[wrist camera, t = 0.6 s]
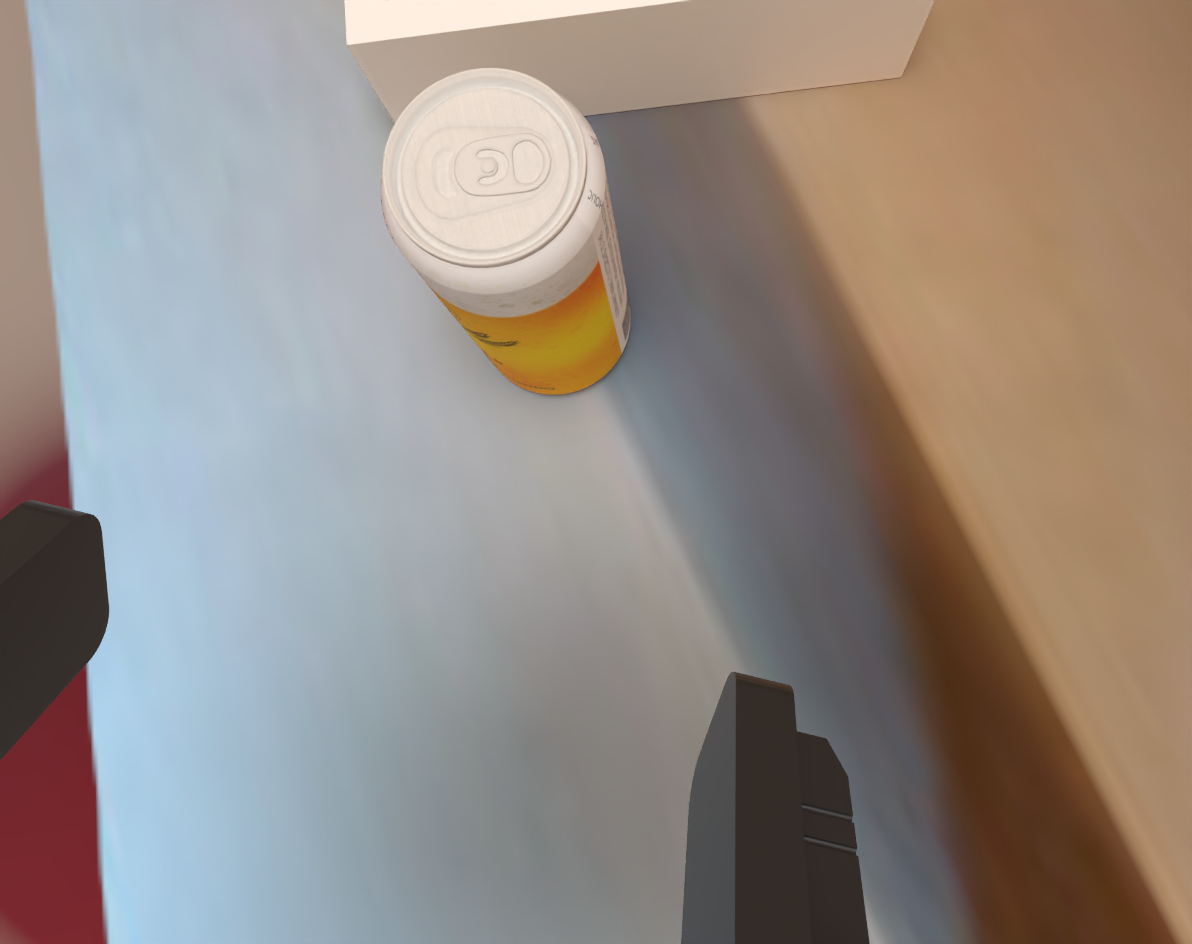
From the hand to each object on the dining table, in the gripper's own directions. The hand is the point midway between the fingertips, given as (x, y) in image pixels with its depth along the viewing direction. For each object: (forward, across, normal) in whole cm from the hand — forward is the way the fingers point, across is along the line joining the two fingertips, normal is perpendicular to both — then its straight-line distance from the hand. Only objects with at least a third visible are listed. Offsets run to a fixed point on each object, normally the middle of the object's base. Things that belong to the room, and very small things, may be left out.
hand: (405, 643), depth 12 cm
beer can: (+28, +2, +7) cm, 28 cm away
